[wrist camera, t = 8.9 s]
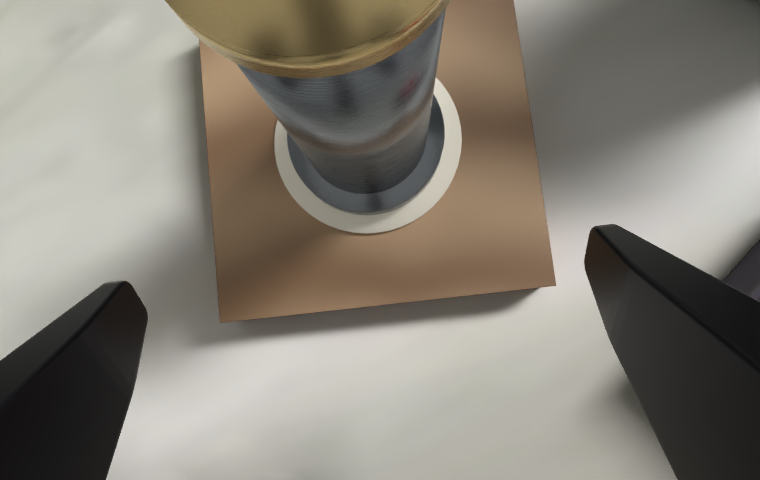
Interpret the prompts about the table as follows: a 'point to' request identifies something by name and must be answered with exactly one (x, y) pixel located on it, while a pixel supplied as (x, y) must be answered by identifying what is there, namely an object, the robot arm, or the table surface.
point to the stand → (395, 228)
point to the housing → (340, 88)
